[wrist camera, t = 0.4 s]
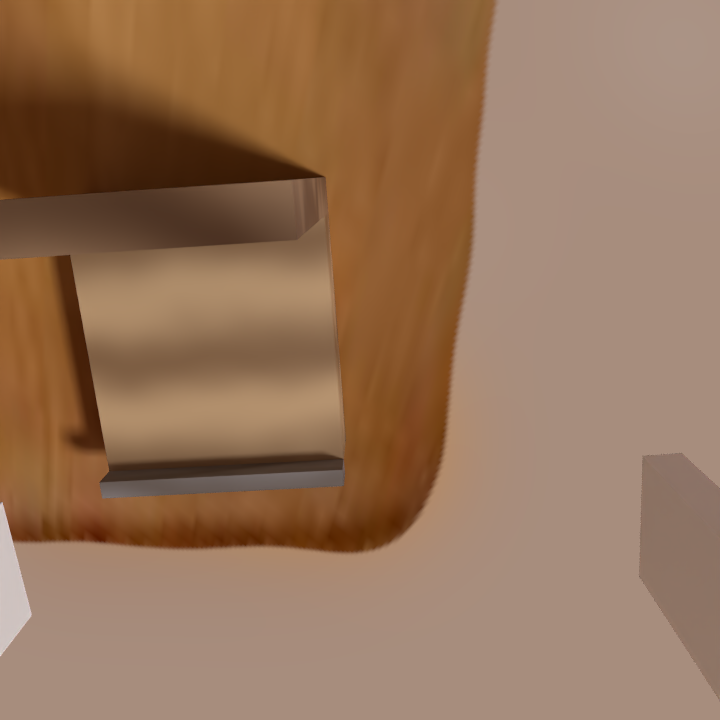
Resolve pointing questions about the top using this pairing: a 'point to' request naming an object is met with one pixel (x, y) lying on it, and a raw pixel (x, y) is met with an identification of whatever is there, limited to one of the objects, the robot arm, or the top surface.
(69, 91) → the top surface
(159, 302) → the board
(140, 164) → the top surface
